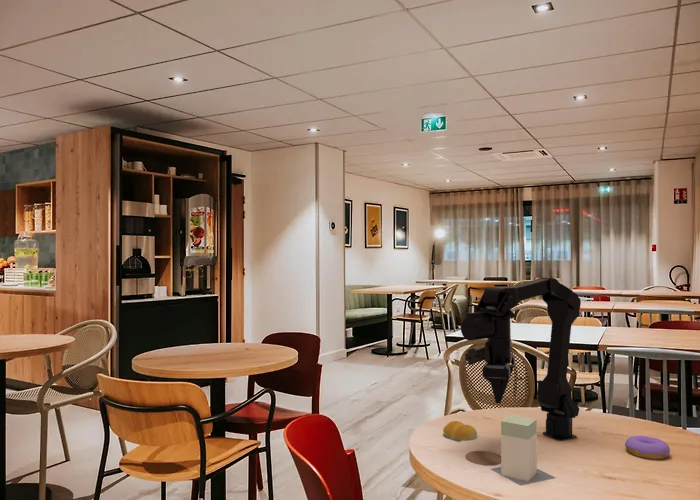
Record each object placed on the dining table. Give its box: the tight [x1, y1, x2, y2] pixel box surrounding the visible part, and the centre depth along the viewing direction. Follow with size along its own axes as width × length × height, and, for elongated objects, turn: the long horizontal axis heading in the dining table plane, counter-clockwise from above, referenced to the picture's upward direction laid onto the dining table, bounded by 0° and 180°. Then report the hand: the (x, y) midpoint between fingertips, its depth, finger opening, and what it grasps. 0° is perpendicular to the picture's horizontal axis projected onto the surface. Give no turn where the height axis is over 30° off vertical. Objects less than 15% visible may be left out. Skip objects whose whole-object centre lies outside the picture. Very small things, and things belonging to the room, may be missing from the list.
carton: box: [500, 414, 538, 481], centre depth 125 cm, size 6×6×12 cm
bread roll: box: [442, 420, 478, 442], centre depth 152 cm, size 8×9×4 cm
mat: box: [490, 466, 557, 486], centre depth 125 cm, size 10×10×1 cm
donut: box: [624, 435, 671, 460], centre depth 139 cm, size 10×9×5 cm
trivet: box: [465, 450, 501, 466], centre depth 134 cm, size 9×9×1 cm
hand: (500, 398), depth 141 cm, fingers open, 9 cm apart
